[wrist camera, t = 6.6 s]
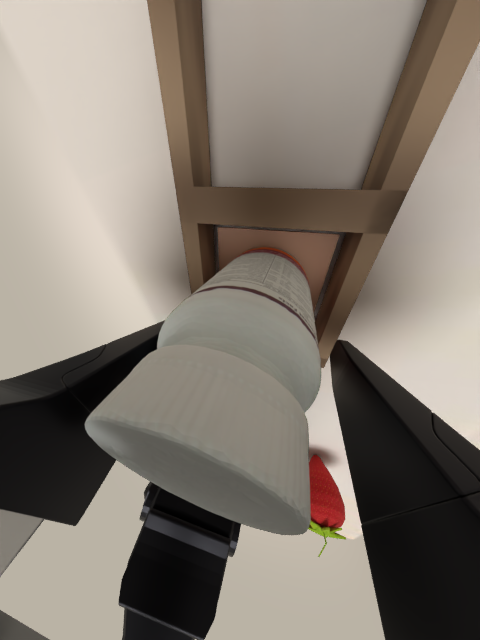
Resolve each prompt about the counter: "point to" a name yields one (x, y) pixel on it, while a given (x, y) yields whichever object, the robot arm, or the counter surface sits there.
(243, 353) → the pill bottle
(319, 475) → the strawberry
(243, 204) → the caddy
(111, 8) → the counter surface
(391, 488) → the robot arm
